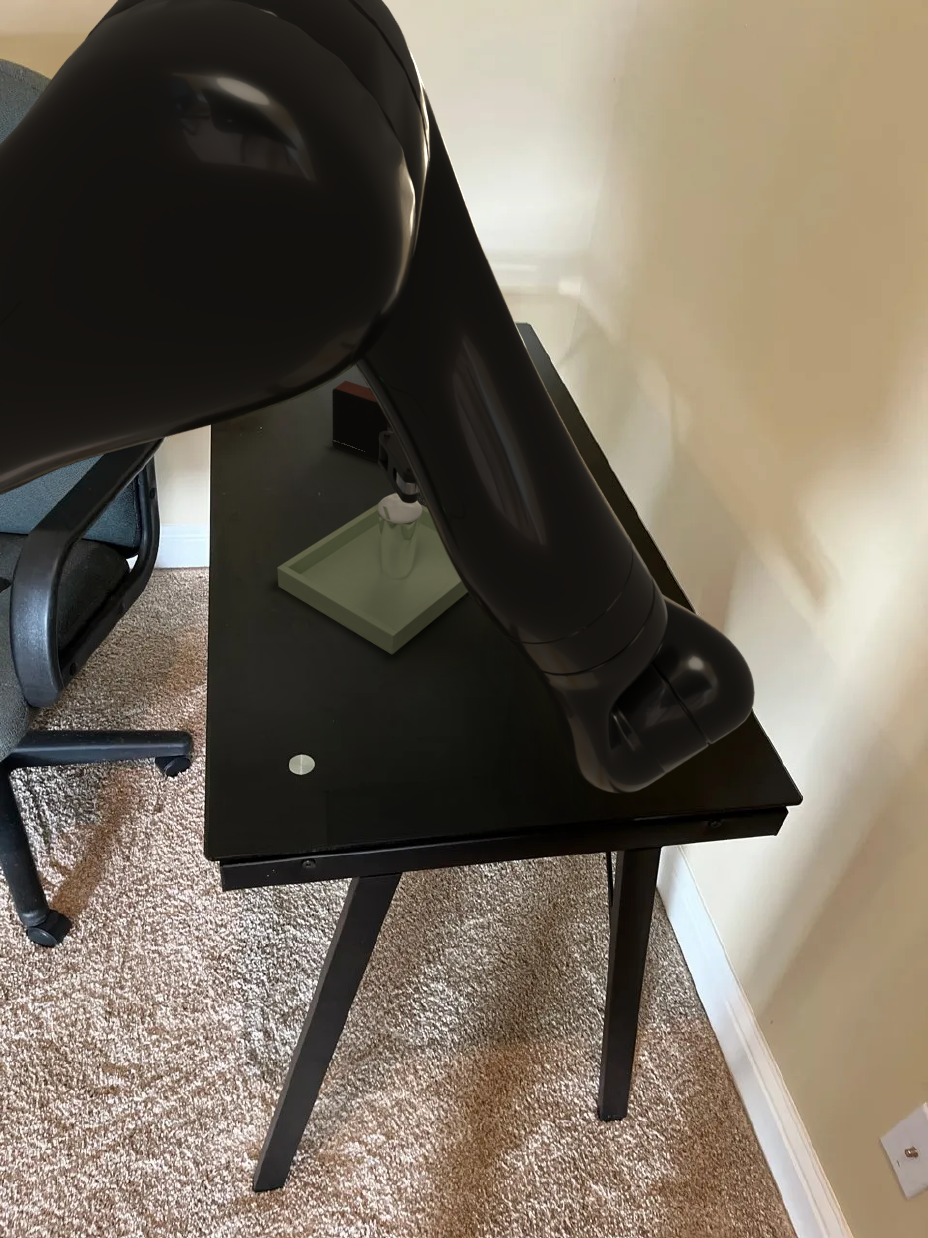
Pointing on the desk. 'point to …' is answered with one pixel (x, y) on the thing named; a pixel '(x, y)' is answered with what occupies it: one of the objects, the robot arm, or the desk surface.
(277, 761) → the desk surface
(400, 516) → the milkshake
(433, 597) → the tray
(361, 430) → the radio
